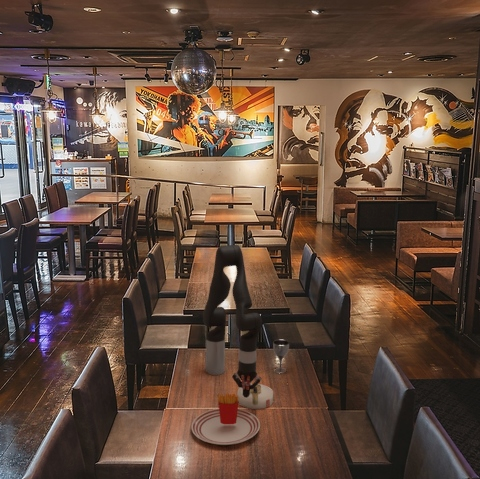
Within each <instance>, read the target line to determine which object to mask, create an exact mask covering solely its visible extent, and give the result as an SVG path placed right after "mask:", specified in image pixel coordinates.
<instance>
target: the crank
mask: <svg viewBox="0 0 480 479" xmlns="http://www.w3.org/2000/svg"><path fill="white" fill-rule="evenodd" d="M258 384H259V383H258ZM258 384H257V385H256V386H255V387H254V388H253V389H250V393H253V396H252V404H254V405H257V404H258V394H259V393H260V392H261V386H260V385H258Z"/></svg>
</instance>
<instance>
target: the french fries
mask: <svg viewBox="0 0 480 479" xmlns="http://www.w3.org/2000/svg"><path fill="white" fill-rule="evenodd" d="M238 397H239V396H237V395H236V393H232V394H230V393H226V394H225V395H224V394H218V395H217V399H218V408H219V412H220V422H221V423H222V424H235V423H236V420H237V412H238V409H239V405H240V404H239V401H238Z"/></svg>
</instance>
